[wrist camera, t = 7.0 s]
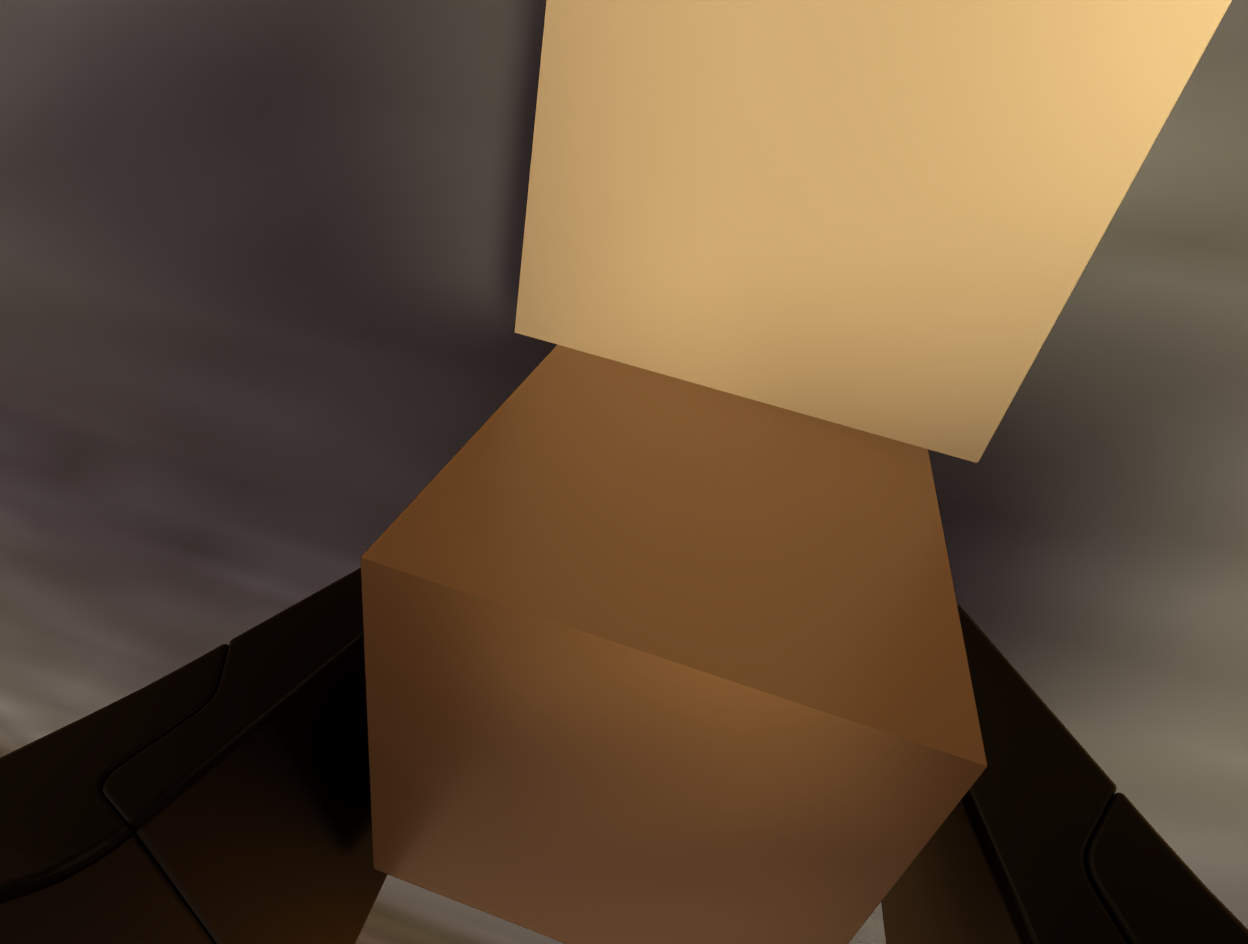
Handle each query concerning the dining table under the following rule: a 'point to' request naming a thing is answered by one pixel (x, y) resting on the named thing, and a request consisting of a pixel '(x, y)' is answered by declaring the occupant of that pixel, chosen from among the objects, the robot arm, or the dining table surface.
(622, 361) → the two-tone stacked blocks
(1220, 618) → the dining table surface
